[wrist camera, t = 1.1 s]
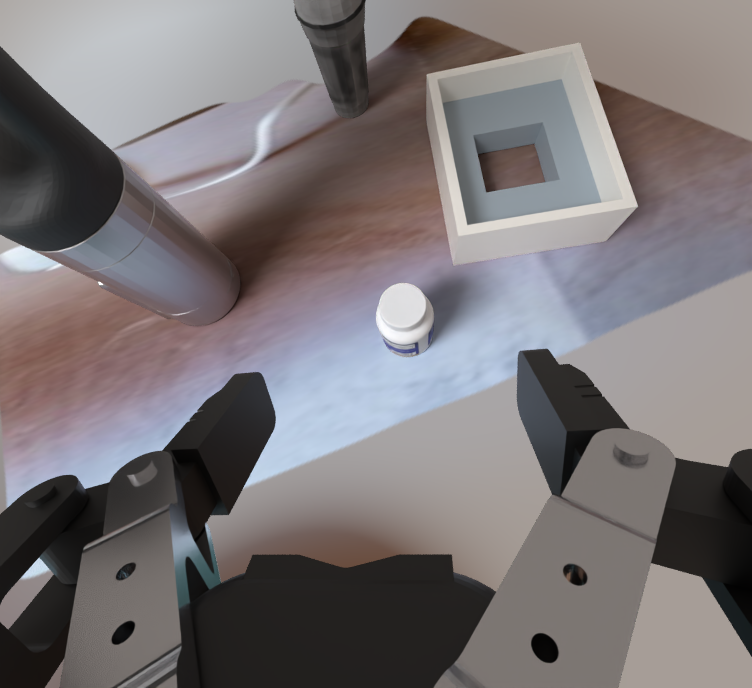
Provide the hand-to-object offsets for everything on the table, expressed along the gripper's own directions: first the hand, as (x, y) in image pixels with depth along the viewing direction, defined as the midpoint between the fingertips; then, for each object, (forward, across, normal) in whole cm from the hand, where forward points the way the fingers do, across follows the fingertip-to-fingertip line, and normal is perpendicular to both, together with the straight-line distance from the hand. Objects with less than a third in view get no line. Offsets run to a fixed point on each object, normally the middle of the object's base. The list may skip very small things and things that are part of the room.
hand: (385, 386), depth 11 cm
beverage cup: (+46, +6, -14) cm, 49 cm away
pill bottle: (+26, +1, +10) cm, 27 cm away
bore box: (+38, -12, -3) cm, 40 cm away
